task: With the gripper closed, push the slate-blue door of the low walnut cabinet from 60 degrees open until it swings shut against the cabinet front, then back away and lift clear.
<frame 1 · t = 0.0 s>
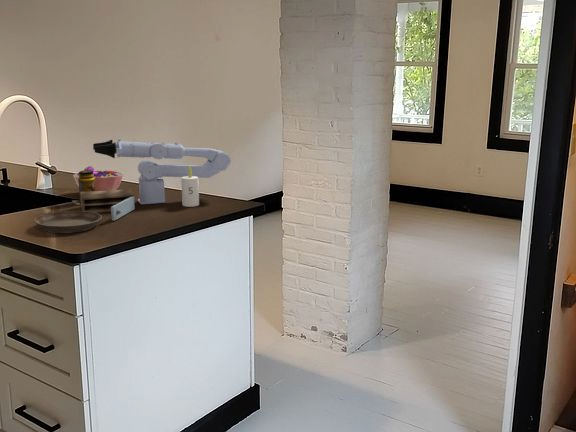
hand: (93, 148, 223), 22 cm above the worktop, tool horizontal, fingers open, 7 cm apart
door: (124, 207, 213), point 3 cm above the worktop, hinge at 60.0°
candle: (190, 205, 230), on the worktop
cabinet: (107, 208, 224), on the worktop
plant saucer: (69, 227, 199), on the worktop
condiment: (85, 202, 234), on the worktop
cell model: (99, 194, 249), on the worktop
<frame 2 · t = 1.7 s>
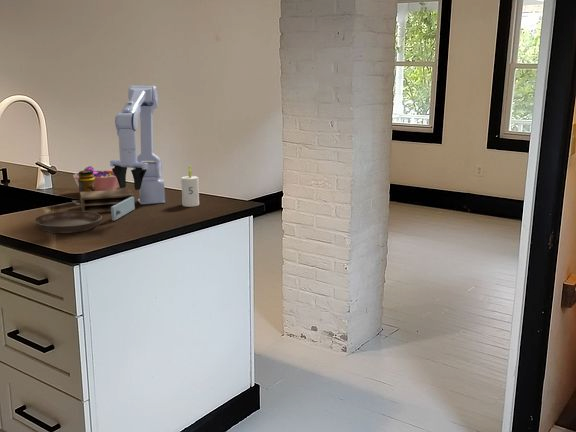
hand: (130, 188, 208), 10 cm above the worktop, tool pointing down, fingers open, 6 cm apart
nothing on the worktop moved.
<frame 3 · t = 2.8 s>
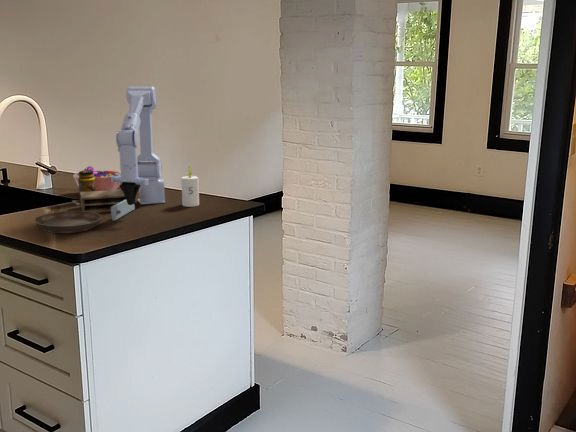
hand: (131, 204, 209), 5 cm above the worktop, tool pointing down, fingers closed
nothing on the worktop moved.
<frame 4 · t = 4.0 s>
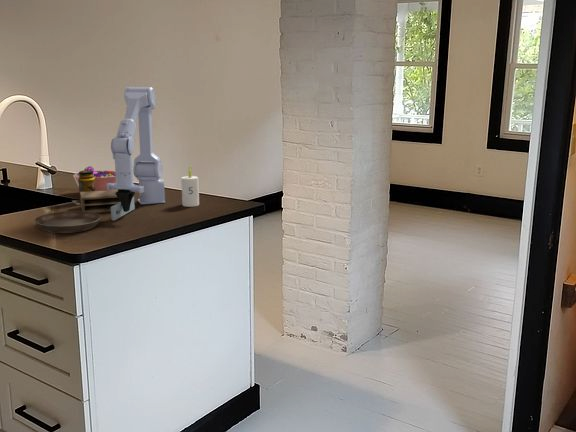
hand: (126, 211, 211), 2 cm above the worktop, tool pointing down, fingers closed
door: (124, 207, 213), point 3 cm above the worktop, hinge at 59.7°, touching gripper
everything else where it was.
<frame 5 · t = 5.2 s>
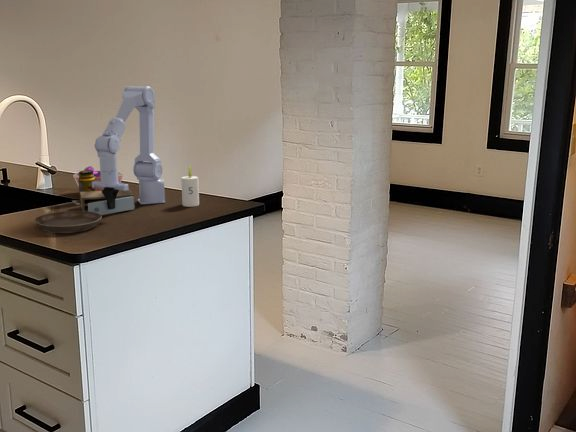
hand: (111, 208, 213), 2 cm above the worktop, tool pointing down, fingers closed, pressing on door
door: (112, 206, 215), point 3 cm above the worktop, hinge at 22.8°, touching gripper
everything else where it was.
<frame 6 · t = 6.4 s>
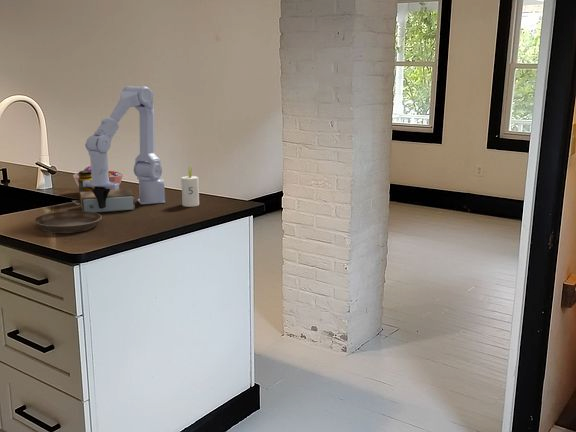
hand: (102, 207, 215), 2 cm above the worktop, tool pointing down, fingers closed
door: (109, 204, 217), point 3 cm above the worktop, hinge at -0.2°, touching gripper
everything else where it was.
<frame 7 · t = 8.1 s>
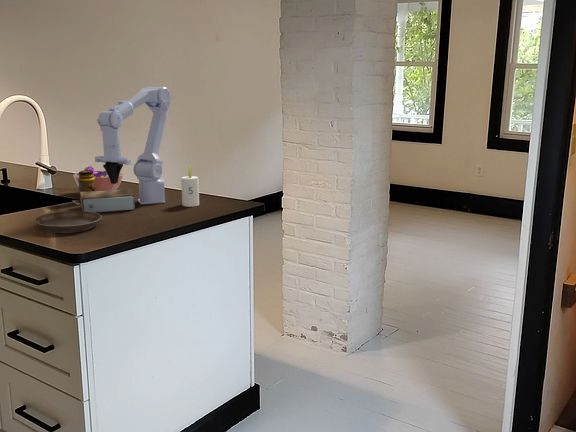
hand: (114, 183, 217), 10 cm above the worktop, tool pointing down, fingers closed
door: (109, 204, 217), point 3 cm above the worktop, hinge at -0.3°
everything else where it was.
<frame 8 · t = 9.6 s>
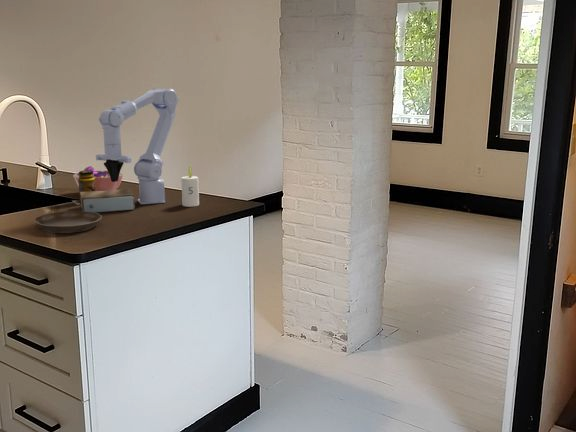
hand: (114, 181, 220), 10 cm above the worktop, tool pointing down, fingers closed
nothing on the worktop moved.
at the end: door at +0° (first picture: +60°) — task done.
